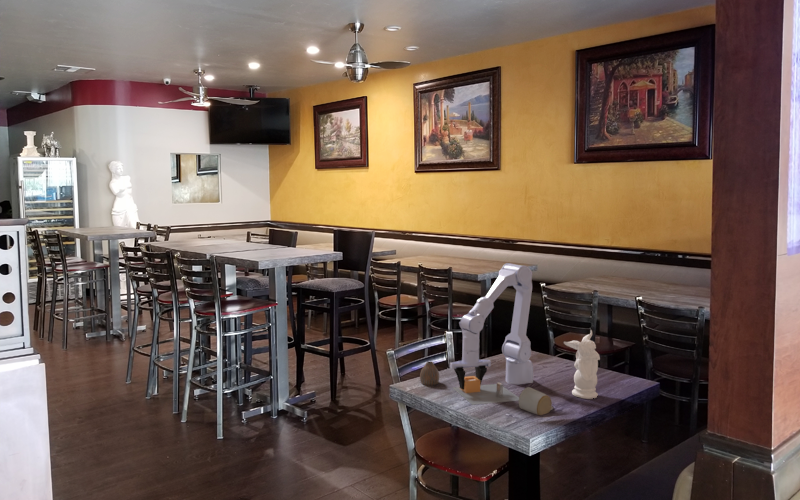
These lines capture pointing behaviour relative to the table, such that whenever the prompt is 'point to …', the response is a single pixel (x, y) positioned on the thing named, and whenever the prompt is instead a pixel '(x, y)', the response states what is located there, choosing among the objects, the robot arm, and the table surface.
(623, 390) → the table surface
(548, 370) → the table surface
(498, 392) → the grey cubby insert
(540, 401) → the ceramic mug
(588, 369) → the cherub figurine
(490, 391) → the board
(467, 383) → the orange cubby crate
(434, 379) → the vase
